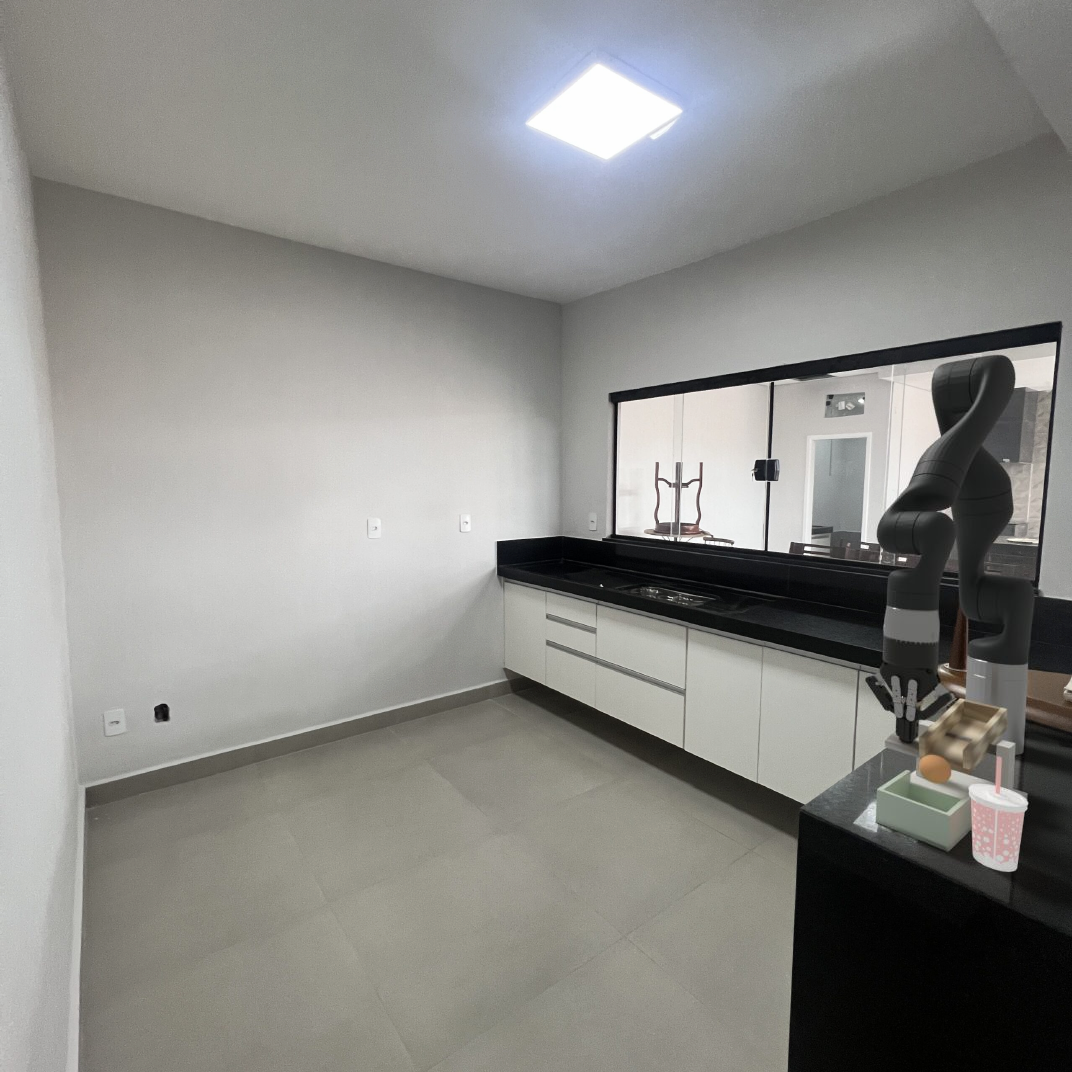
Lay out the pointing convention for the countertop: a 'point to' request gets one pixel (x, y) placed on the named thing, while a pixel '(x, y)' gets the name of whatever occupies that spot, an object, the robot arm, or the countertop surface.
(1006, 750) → the pivot stand
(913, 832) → the cup
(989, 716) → the tipping chute
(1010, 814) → the beverage cup
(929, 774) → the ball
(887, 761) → the countertop surface
